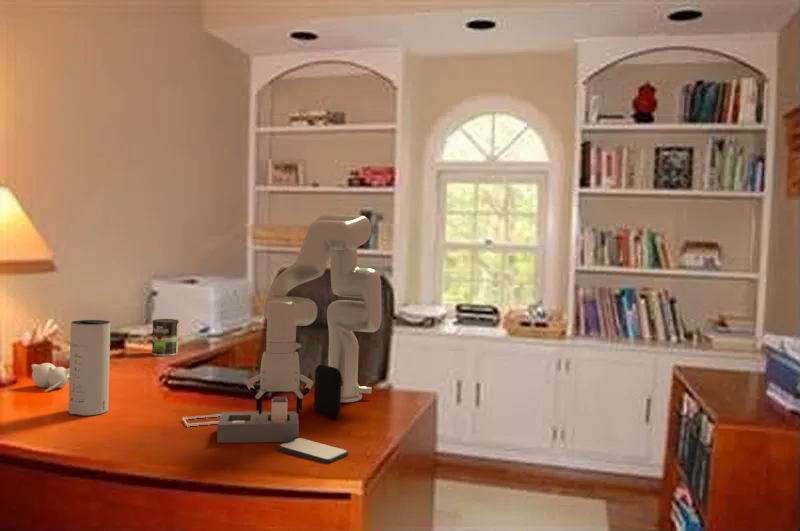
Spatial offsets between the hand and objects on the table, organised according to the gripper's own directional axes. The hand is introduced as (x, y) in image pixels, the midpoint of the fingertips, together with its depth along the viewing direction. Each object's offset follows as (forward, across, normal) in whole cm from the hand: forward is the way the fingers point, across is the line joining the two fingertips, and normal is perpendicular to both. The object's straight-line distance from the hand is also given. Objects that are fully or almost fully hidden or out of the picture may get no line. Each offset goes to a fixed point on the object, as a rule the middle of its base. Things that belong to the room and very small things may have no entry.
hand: (279, 412), depth 178 cm
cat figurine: (+6, +73, -54) cm, 91 cm away
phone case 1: (+6, +18, -14) cm, 23 cm away
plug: (+5, 0, 0) cm, 5 cm away
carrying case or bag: (+6, -14, -16) cm, 22 cm away
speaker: (+6, +53, -24) cm, 59 cm away
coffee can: (+6, +47, -116) cm, 125 cm away
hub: (+6, +5, 0) cm, 8 cm away
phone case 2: (+6, -8, +15) cm, 18 cm away
